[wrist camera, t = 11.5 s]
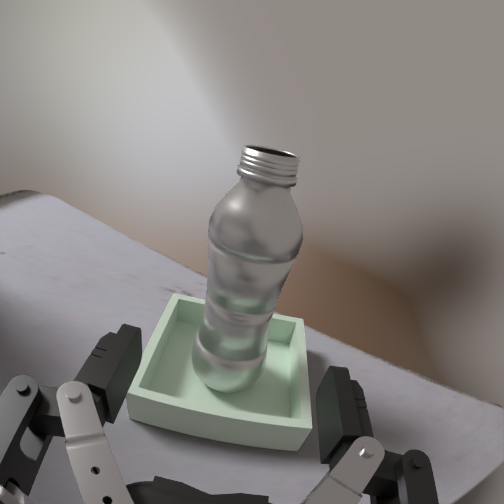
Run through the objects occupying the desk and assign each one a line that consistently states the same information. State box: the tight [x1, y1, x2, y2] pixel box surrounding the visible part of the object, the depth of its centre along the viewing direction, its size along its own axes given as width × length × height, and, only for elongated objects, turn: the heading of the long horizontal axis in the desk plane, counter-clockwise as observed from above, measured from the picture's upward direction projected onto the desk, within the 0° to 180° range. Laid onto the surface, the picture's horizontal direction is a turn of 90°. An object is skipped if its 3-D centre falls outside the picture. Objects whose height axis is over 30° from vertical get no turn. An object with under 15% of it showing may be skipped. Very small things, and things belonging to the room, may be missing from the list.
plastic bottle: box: [191, 145, 303, 393], centre depth 24 cm, size 6×7×20 cm
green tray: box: [126, 293, 312, 451], centre depth 28 cm, size 14×14×4 cm
